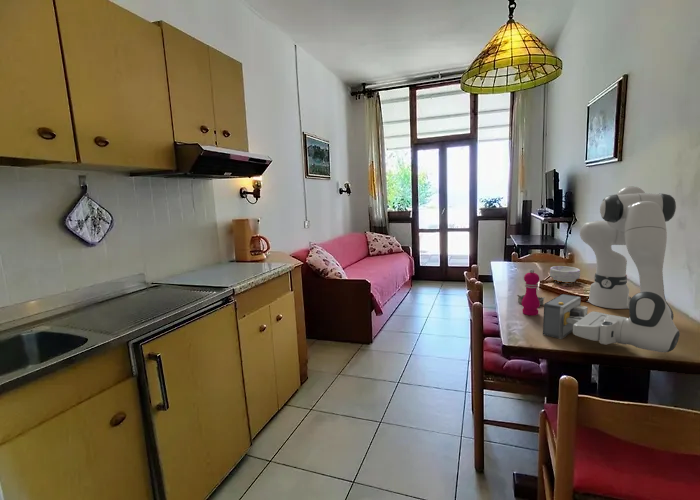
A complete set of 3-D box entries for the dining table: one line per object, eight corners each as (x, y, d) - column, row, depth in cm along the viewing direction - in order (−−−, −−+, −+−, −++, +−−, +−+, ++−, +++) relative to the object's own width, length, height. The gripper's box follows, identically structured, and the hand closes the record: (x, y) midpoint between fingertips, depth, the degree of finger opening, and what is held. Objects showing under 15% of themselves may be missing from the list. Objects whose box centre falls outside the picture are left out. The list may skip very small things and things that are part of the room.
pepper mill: (541, 316, 154) (543, 270, 152) (523, 315, 156) (525, 270, 153) (536, 311, 161) (538, 267, 158) (519, 310, 163) (520, 267, 160)
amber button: (557, 320, 136) (557, 310, 135) (569, 322, 132) (569, 312, 132) (553, 322, 133) (554, 312, 133) (565, 325, 130) (566, 314, 130)
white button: (575, 314, 141) (575, 304, 140) (587, 317, 138) (587, 307, 137) (572, 316, 138) (572, 306, 138) (583, 319, 135) (584, 309, 135)
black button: (570, 318, 137) (570, 308, 136) (582, 320, 134) (582, 310, 133) (566, 320, 135) (567, 310, 134) (578, 323, 132) (579, 312, 131)
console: (561, 322, 147) (562, 292, 145) (579, 326, 142) (580, 295, 140) (542, 334, 135) (544, 302, 133) (561, 339, 130) (563, 305, 128)
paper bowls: (576, 286, 200) (577, 272, 198) (546, 282, 210) (546, 269, 209) (582, 280, 211) (582, 267, 209) (553, 277, 221) (553, 264, 220)
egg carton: (515, 302, 175) (515, 294, 175) (524, 300, 179) (524, 292, 179) (537, 307, 166) (537, 299, 166) (545, 304, 171) (546, 296, 170)
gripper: (622, 312, 127) (578, 304, 137) (604, 327, 114) (557, 317, 124) (621, 329, 128) (577, 320, 138) (603, 346, 115) (556, 334, 125)
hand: (567, 319), depth 131 cm, fingers closed, pressing on amber button
